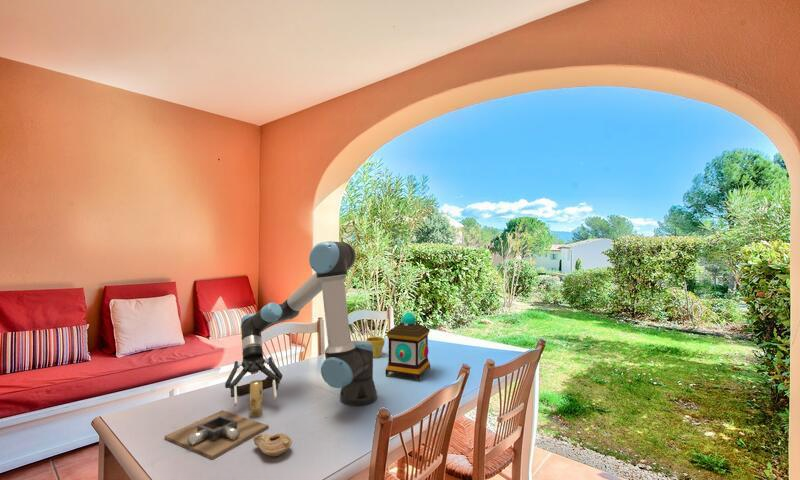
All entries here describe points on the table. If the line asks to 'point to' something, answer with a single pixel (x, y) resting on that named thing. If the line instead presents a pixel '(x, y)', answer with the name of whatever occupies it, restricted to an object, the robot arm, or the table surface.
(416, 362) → the decorative lantern
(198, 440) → the socket housing
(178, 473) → the table surface
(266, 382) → the hand tool
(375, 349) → the plant pot
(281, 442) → the pottery oil lamp
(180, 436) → the mounting board
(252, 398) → the cylinder
